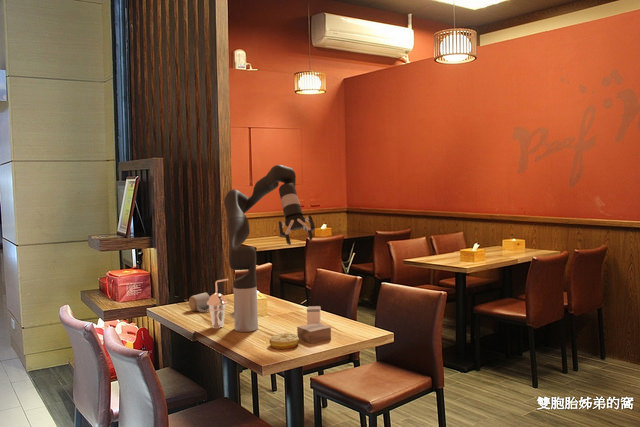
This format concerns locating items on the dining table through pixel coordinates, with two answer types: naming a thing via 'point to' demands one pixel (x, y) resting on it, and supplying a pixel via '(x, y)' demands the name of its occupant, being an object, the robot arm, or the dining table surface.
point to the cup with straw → (217, 307)
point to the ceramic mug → (199, 302)
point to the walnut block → (314, 333)
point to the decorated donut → (283, 341)
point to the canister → (313, 314)
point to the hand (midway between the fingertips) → (300, 242)
